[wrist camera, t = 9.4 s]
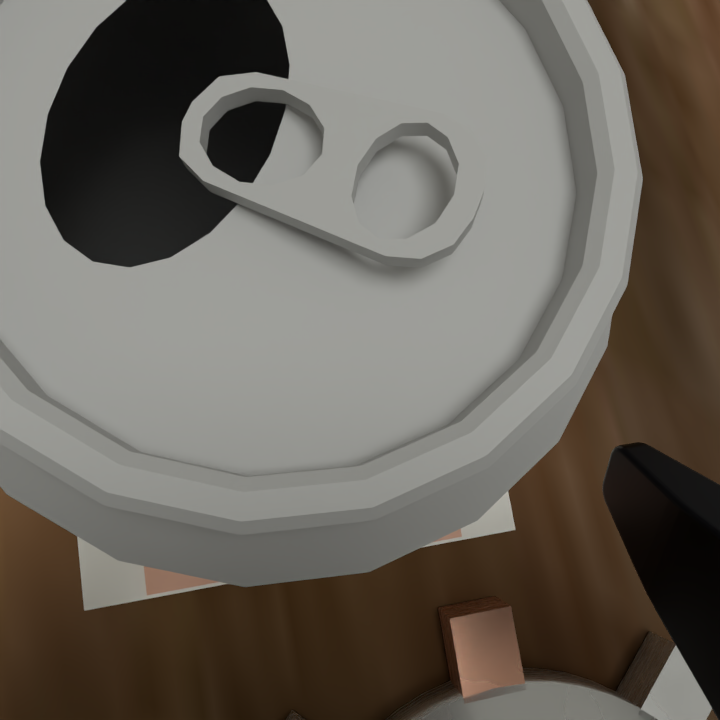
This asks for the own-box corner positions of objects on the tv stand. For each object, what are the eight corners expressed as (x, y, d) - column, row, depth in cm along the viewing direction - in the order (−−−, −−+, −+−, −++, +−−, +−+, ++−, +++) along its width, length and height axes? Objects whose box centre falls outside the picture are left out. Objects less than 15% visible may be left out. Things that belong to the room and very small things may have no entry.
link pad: (507, 527, 17) (516, 530, 16) (92, 604, 16) (82, 611, 15) (437, 155, 19) (443, 143, 18) (52, 191, 17) (42, 180, 16)
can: (208, 186, 17) (39, -429, 5) (458, 292, 17) (822, -63, 6) (84, 443, 16) (-532, 379, 4) (361, 552, 16) (577, 803, 4)
